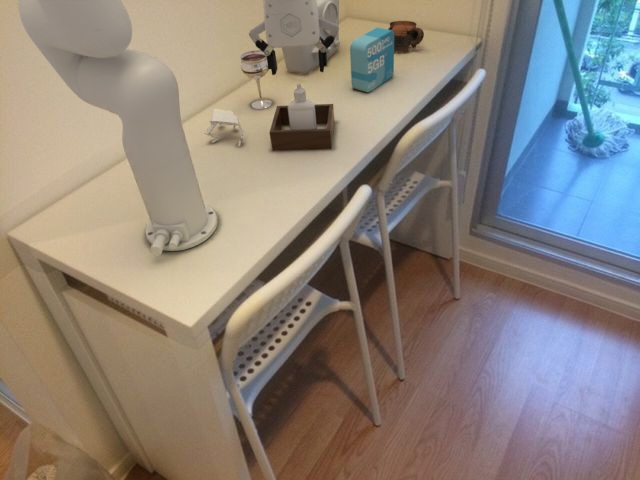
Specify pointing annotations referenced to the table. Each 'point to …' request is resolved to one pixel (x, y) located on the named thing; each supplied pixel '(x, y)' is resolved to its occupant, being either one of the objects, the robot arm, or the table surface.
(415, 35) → the pottery mug
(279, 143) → the square wooden box frame
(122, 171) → the table surface
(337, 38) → the radio
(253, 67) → the wineglass
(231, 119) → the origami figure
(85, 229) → the table surface
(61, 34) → the robot arm
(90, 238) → the table surface
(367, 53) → the data package
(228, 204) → the table surface
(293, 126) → the eye dropper bottle
